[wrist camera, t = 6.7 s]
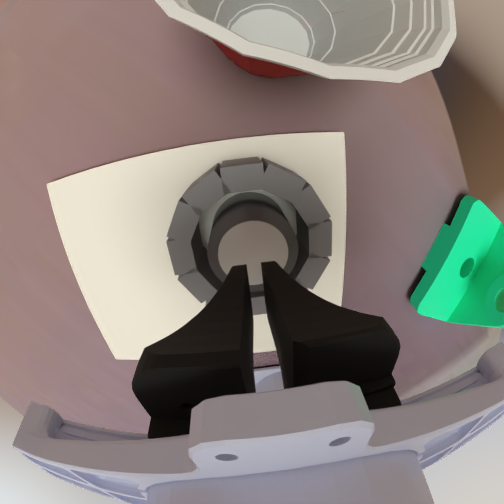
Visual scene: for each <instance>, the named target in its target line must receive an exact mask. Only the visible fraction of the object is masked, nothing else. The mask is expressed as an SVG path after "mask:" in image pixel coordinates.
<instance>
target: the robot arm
mask: <svg viewBox="0 0 504 504" xmlns="http://www.w3.org/2000/svg"><path fill="white" fill-rule="evenodd" d="M261 269H262V278H263V288H264V298H265V305H266V312H267V319H268V322H269V326H270V329H271V333H272V337H273V340H274V344H275V347H276V351H277V354H278V358H279V362H280V366H274V367H267V368H259V369H254V368H253V336H254V319H253V310H252V301H251V294H250V286H249V279H248V271H247V264H244V265H236V266H232V267H231V269H230V271H229V273H228V275H227V277H226V278H225V280H224V282H223V283H222V285H221V286H220V288H219V290H218V291H217V292H216V294H215V295H214V296H213V298H212V299H211V300H210V302H209V303H208V304H207V305H206V306H205V307H204V308H203V309H202V310H201V311H200V312H199V313H198V314H197V315H196V316H195V317H194V318H192V319H191V320H190V321H189V322H187V323H186V324H185V325H184V326H182V327H181V328H179V329H178V330H177V331H175V332H173V333H172V334H170V335H169V336H167V337H165V338H163V339H161V340H159V341H157V342H155V343H153V344H151V345H149V346H147V347H145V348H144V350H143V352H142V355H141V357H140V359H139V362H138V365H137V368H136V371H135V374H134V378H133V381H132V390H133V392H134V394H135V396H136V397H137V399H138V400H139V402H140V403H141V404H142V406H143V407H144V408H145V410H146V411H147V413H148V414H149V415H150V416H151V421H150V426H149V432H148V434H143V433H134V432H126V431H118V430H112V429H106V428H100V427H95V426H90V425H85V424H81V423H76V422H72V421H68V420H64V419H63V418H62V417H61V416H60V415H59V413H58V412H56V411H55V410H54V409H53V408H51V407H49V406H46V405H43V404H39V403H36V402H31V403H30V405H29V407H28V409H27V412H26V414H25V416H24V418H23V421H22V423H21V425H20V428H19V430H18V432H17V435H16V437H15V440H14V443H13V448H14V449H16V450H17V451H18V452H19V453H21V454H22V455H23V456H25V457H26V458H27V459H29V460H30V461H31V462H33V463H34V464H36V465H37V466H38V467H40V468H41V469H43V470H44V471H46V472H47V473H49V474H50V475H52V476H54V477H56V478H59V479H61V480H64V481H66V482H68V483H71V484H73V485H76V486H79V487H81V488H84V489H87V490H89V491H92V492H95V493H98V494H101V495H104V496H107V497H110V498H113V499H116V500H120V501H124V502H127V503H131V504H434V501H433V499H432V496H431V493H430V490H429V487H428V485H427V482H426V479H425V477H424V474H423V471H422V470H423V469H425V468H426V467H428V466H430V465H432V464H434V463H435V462H437V461H439V460H441V459H442V458H444V457H446V456H447V455H449V454H450V453H452V452H454V451H455V450H457V449H458V448H460V447H461V446H463V445H464V444H466V443H467V442H469V441H470V440H472V439H473V438H474V437H475V436H477V435H478V434H480V433H481V432H482V431H484V430H485V429H487V428H488V427H489V426H491V425H492V424H493V423H495V422H496V421H497V420H498V419H500V418H501V417H502V416H503V415H504V343H503V342H500V343H499V344H497V345H495V346H494V347H492V348H490V349H488V350H487V351H486V352H485V353H484V354H483V355H482V356H481V358H480V360H479V361H478V363H477V366H476V367H474V368H473V369H471V370H469V371H467V372H465V373H463V374H461V375H459V376H457V377H455V378H453V379H451V380H449V381H447V382H445V383H443V384H441V385H439V386H437V387H434V388H432V389H430V390H427V391H425V392H423V393H420V394H418V395H415V396H413V397H410V398H408V399H405V400H402V401H400V399H399V397H398V395H397V393H396V391H395V389H394V387H393V386H395V380H394V378H393V376H392V371H393V369H394V366H395V363H396V361H397V358H398V355H399V351H400V343H399V339H398V338H397V336H396V335H395V333H394V331H393V330H392V328H391V327H390V326H389V324H388V323H387V322H386V321H385V319H384V318H383V317H379V316H374V315H369V314H364V313H359V312H356V311H353V310H349V309H346V308H343V307H341V306H338V305H336V304H333V303H331V302H329V301H327V300H325V299H323V298H321V297H319V296H317V295H315V294H314V293H312V292H310V291H309V290H307V289H306V288H304V287H303V286H302V285H300V284H299V283H298V282H297V281H296V280H294V279H293V278H292V277H291V276H290V275H289V274H288V273H287V272H286V271H285V270H284V269H283V268H282V267H281V266H280V265H279V264H278V263H277V262H276V261H269V262H261Z"/></svg>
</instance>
